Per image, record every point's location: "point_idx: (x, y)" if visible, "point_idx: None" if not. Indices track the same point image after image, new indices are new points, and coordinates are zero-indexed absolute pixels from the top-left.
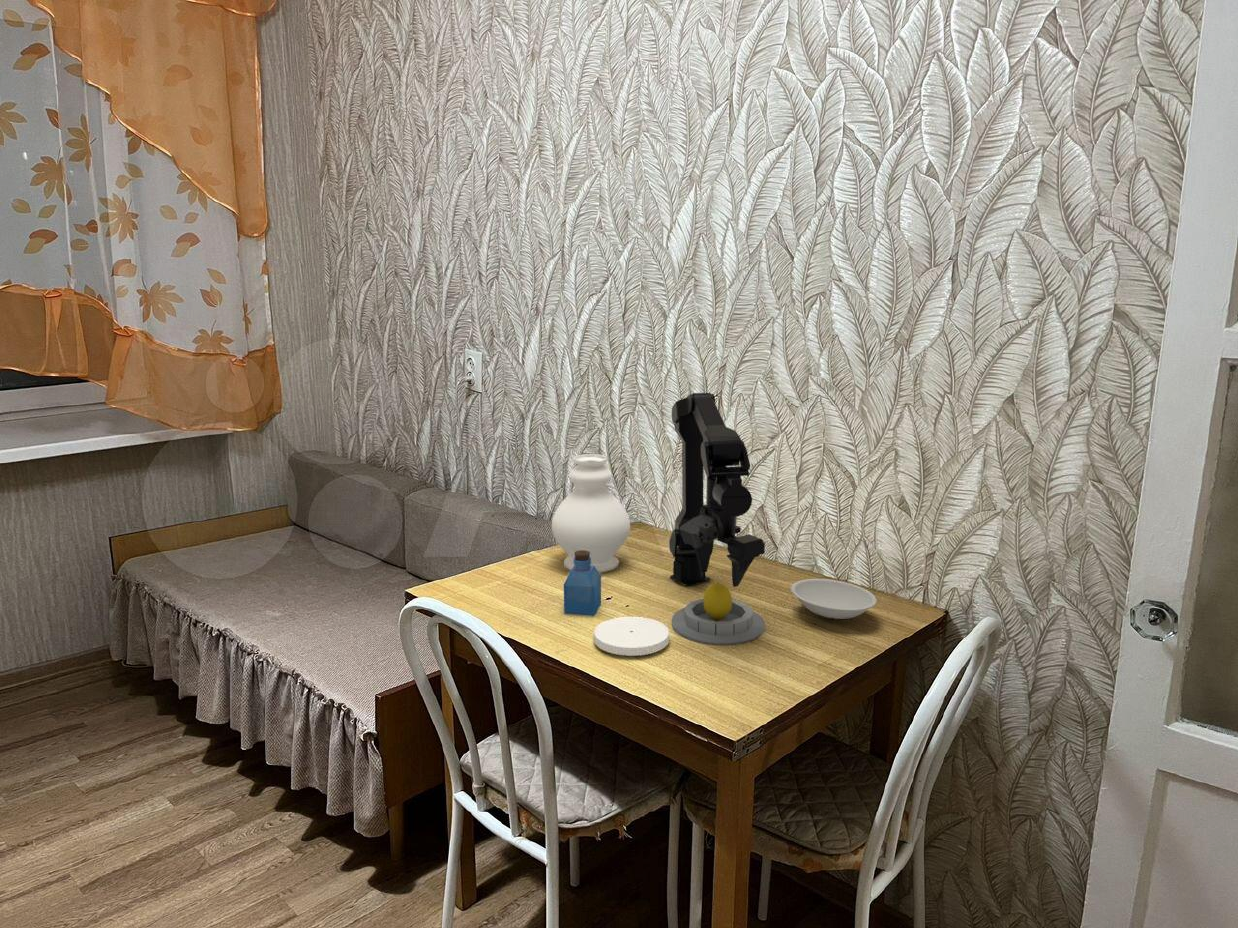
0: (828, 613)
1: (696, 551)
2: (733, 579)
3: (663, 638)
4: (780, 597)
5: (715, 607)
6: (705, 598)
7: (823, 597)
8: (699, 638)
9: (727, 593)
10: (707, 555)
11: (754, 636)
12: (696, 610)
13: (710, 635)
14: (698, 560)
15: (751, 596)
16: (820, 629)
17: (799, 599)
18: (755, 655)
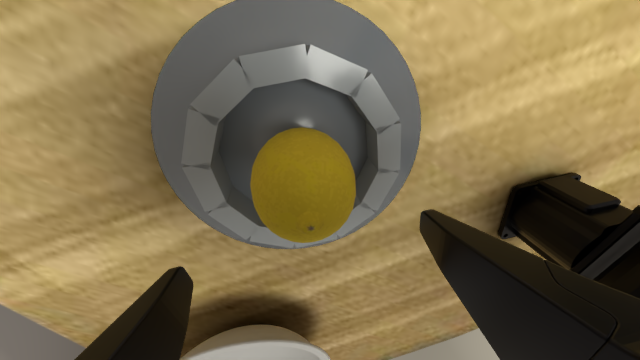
0: (192, 349)
1: (585, 297)
2: (140, 305)
3: None
4: (359, 300)
5: (260, 152)
6: (308, 142)
7: (291, 352)
8: (189, 30)
9: (265, 224)
10: (486, 315)
11: (178, 194)
12: (369, 126)
13: (206, 82)
14: (494, 244)
15: (391, 267)
16: (203, 307)
17: (258, 336)
18: (67, 147)
